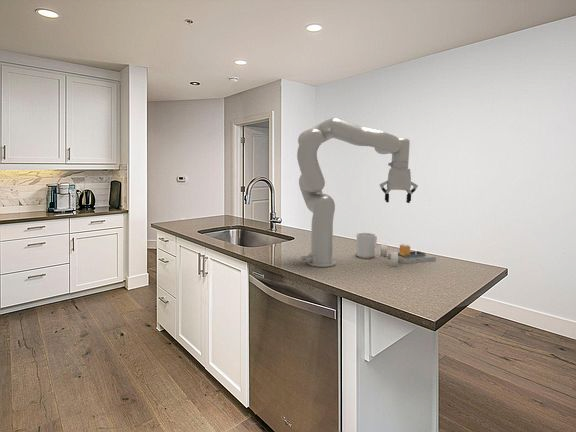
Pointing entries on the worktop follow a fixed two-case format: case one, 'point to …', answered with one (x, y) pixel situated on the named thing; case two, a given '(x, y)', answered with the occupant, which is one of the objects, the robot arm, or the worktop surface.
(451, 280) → the worktop surface
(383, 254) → the post far
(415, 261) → the panel
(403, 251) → the toggle
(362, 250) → the mug
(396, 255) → the post near
